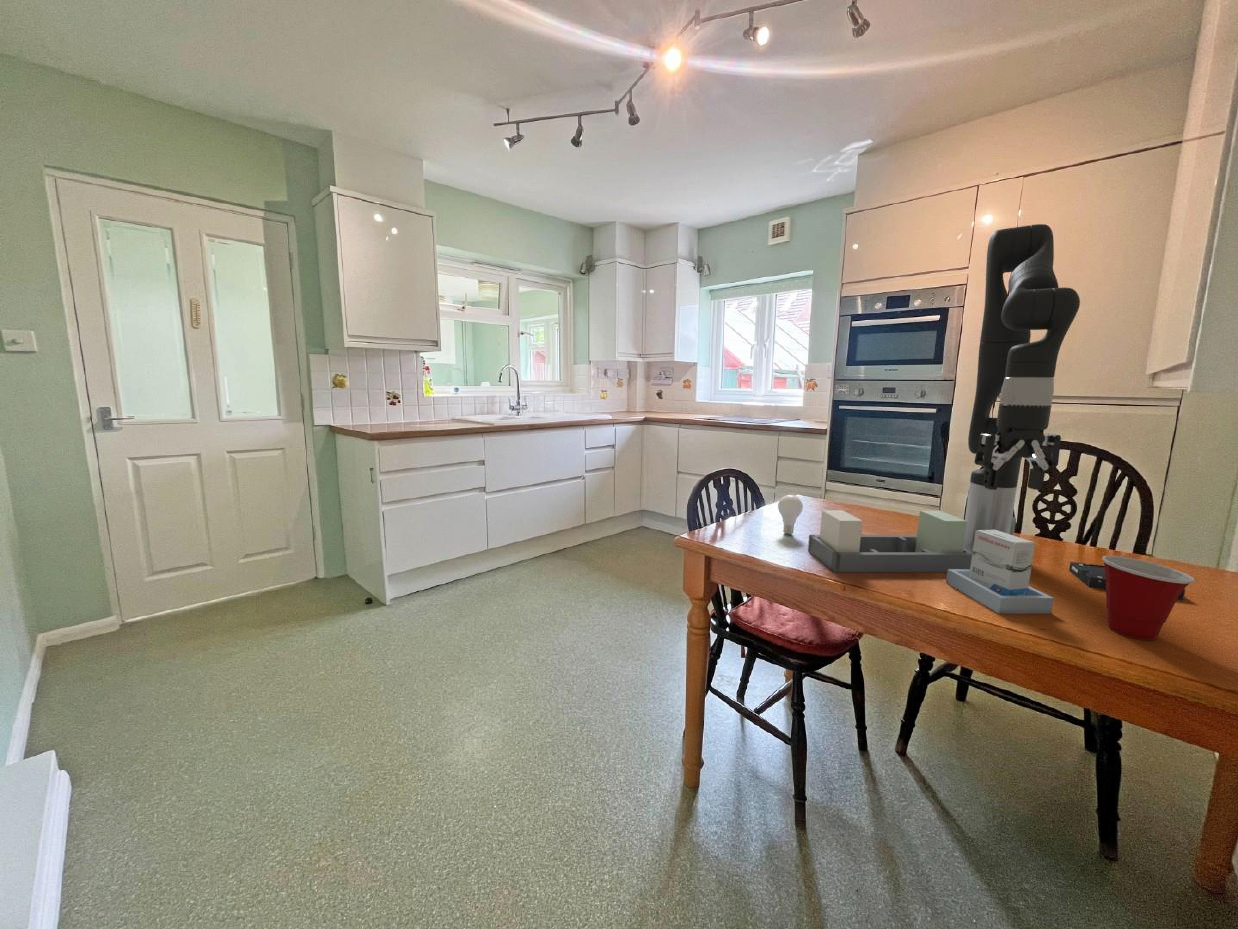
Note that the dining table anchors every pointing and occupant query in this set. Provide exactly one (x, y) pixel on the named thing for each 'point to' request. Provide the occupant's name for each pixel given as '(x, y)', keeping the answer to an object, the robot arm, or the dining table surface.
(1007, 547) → the ink box
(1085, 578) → the disk drive
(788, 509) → the lightbulb
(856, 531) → the cream block
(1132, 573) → the plastic cup
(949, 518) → the sage block
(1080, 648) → the dining table surface
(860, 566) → the holder
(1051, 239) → the robot arm
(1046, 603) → the tray
